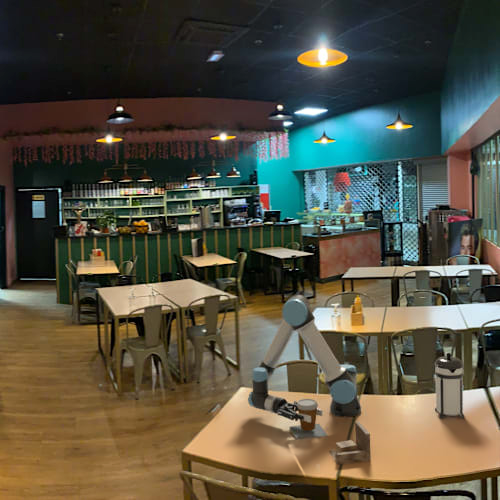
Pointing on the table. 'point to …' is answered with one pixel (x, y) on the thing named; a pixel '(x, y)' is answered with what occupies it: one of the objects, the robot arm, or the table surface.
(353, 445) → the offcut stack
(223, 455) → the table surface
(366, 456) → the offcut rack
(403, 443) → the table surface
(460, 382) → the coffee press
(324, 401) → the table surface
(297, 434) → the slate mat
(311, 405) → the disposable coffee cup
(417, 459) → the table surface
